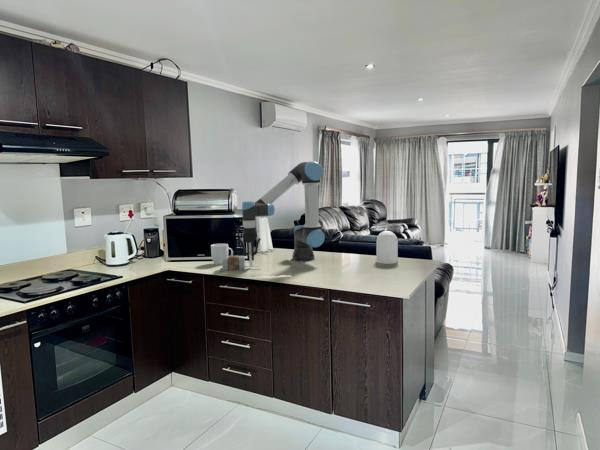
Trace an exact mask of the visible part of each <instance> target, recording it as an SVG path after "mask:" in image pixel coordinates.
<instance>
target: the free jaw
mask: <svg viewBox="0 0 600 450" xmlns="http://www.w3.org/2000/svg"><path fill="white" fill-rule="evenodd" d="M245 259H246V255H239V259H238V260H239V270H245V271H246V267H245V266H246V261H245Z"/></svg>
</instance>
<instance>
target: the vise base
mask: <svg viewBox="0 0 600 450" xmlns="http://www.w3.org/2000/svg"><path fill="white" fill-rule="evenodd" d="M246 267H248V268H249V267H250V265H245V268H246ZM260 270H261V269H258V268H255V269H254V268H253V269H252V271H260ZM238 271H239V272H240V271H242V272H244V271H246V269H245V270H240V269H239V270H230V272H238ZM218 272H219V273H221V274H222V273H224V271H223V267H220V269H219V271H218Z"/></svg>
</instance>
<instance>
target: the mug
mask: <svg viewBox="0 0 600 450" xmlns="http://www.w3.org/2000/svg"><path fill="white" fill-rule="evenodd" d="M229 250H230V252H231V253H230V256H234V251H233V248H231V247H229V244H228V243H213V244H211V245H210V253H211V255H210V256H211V259H212V263H213V264H214V265H220V266H221V265H222V259H223V257H229Z"/></svg>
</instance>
